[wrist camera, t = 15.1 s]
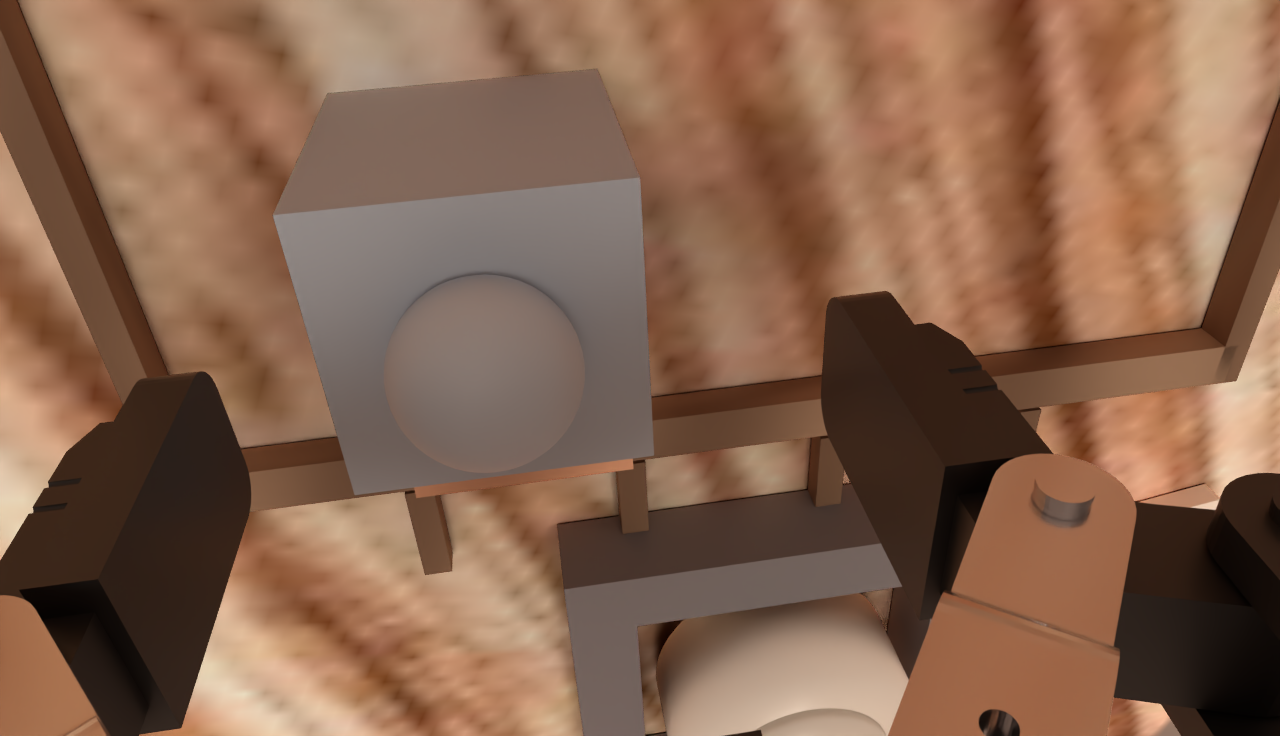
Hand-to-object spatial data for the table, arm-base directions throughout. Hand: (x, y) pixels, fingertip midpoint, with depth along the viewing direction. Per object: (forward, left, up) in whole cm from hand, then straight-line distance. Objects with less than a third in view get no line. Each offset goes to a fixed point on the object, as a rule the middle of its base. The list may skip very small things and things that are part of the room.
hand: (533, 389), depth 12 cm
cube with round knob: (+1, 0, -6) cm, 6 cm away
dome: (-5, +13, -5) cm, 14 cm away
